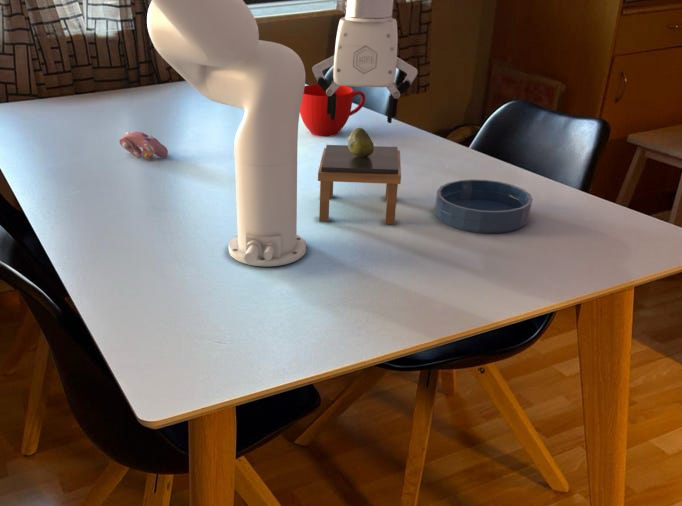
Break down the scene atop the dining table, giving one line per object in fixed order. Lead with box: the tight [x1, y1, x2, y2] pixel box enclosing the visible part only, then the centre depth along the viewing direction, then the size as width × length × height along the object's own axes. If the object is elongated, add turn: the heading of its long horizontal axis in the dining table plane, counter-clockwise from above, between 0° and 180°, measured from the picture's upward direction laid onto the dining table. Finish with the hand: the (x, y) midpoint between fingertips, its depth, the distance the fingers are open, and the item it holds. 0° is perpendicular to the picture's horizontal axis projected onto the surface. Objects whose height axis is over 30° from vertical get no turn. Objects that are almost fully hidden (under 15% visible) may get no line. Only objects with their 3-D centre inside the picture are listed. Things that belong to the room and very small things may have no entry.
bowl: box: [434, 178, 533, 234], centre depth 128 cm, size 16×16×4 cm
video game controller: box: [119, 131, 169, 160], centre depth 158 cm, size 10×5×7 cm, turn 62°
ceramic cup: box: [299, 83, 366, 138], centre depth 172 cm, size 13×17×10 cm
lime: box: [347, 127, 375, 157], centre depth 126 cm, size 4×5×5 cm
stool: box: [317, 144, 402, 225], centre depth 130 cm, size 14×14×10 cm
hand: (361, 119), depth 123 cm, fingers open, 9 cm apart
